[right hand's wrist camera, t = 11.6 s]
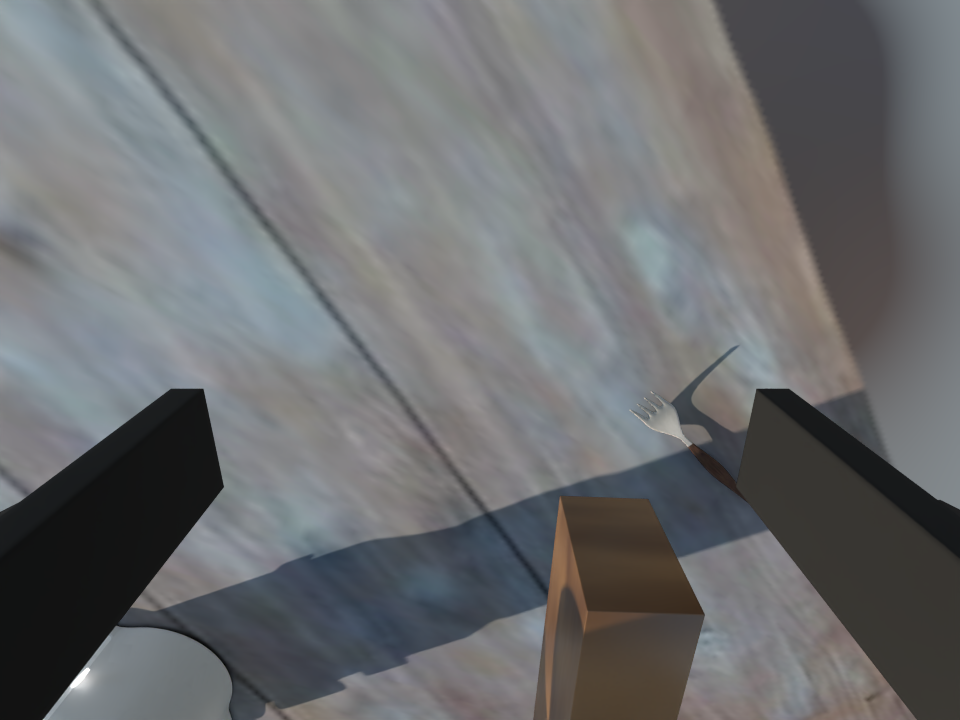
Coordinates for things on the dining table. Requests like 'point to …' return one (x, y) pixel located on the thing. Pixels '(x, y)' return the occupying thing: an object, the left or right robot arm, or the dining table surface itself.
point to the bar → (615, 616)
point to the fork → (683, 438)
